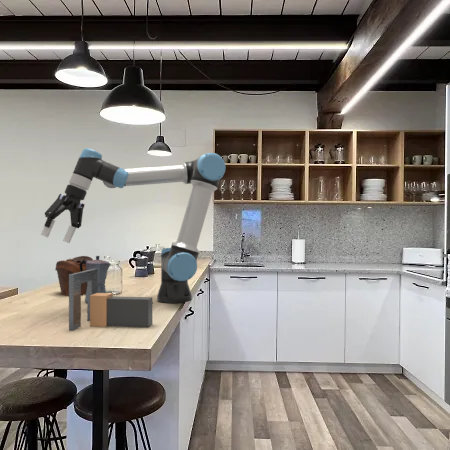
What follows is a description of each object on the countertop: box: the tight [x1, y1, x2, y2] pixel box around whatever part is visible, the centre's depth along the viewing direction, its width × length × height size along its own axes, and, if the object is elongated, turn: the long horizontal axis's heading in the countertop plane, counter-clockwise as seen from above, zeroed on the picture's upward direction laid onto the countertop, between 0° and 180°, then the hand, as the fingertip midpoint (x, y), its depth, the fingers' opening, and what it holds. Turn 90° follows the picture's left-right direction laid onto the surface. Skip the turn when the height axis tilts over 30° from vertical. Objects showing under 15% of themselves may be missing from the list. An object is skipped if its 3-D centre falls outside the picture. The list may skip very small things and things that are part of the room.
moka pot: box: [79, 255, 112, 303], centre depth 178 cm, size 10×15×20 cm, turn 78°
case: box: [55, 255, 94, 296], centre depth 201 cm, size 18×20×18 cm
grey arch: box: [68, 269, 98, 332], centre depth 138 cm, size 2×18×18 cm, turn 173°
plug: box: [89, 292, 153, 328], centre depth 137 cm, size 20×6×10 cm, turn 83°
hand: (55, 239), depth 156 cm, fingers open, 13 cm apart
